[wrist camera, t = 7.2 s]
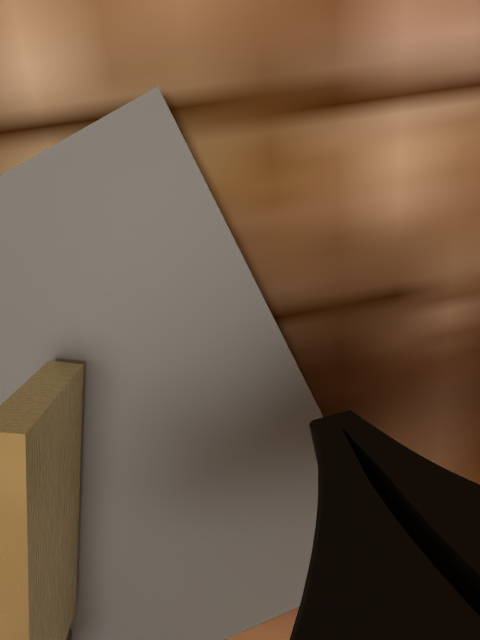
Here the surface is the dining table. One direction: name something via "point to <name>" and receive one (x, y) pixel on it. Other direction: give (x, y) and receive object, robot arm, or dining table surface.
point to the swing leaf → (40, 503)
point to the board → (160, 384)
